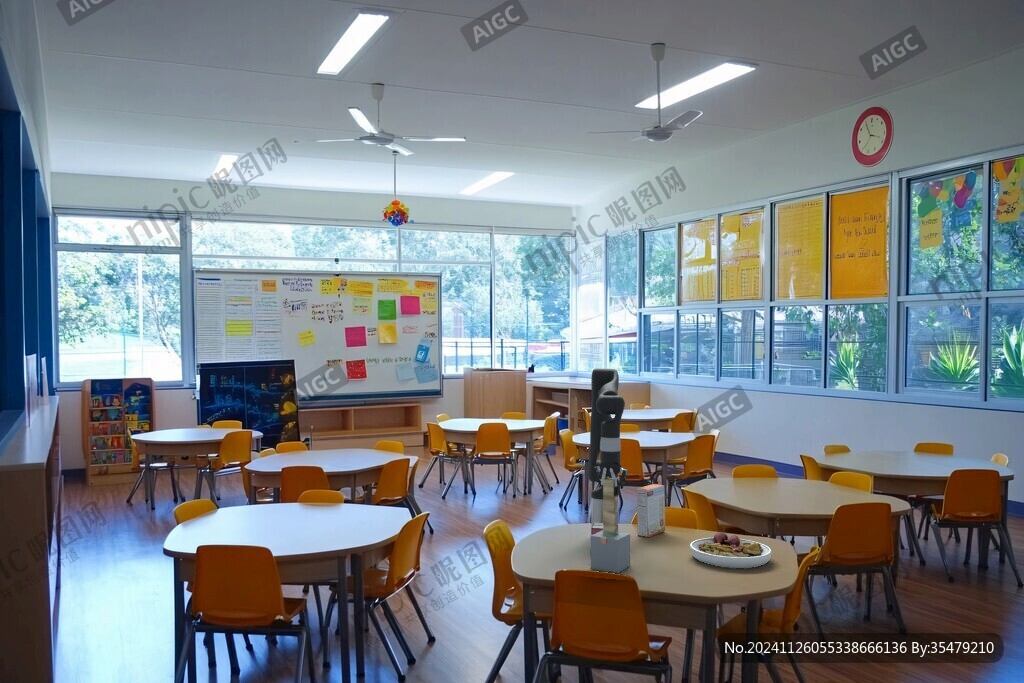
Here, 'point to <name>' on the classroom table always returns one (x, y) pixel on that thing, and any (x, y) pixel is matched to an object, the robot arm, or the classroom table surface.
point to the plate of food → (730, 551)
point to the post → (610, 509)
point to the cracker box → (650, 510)
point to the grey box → (610, 552)
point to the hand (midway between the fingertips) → (610, 495)
